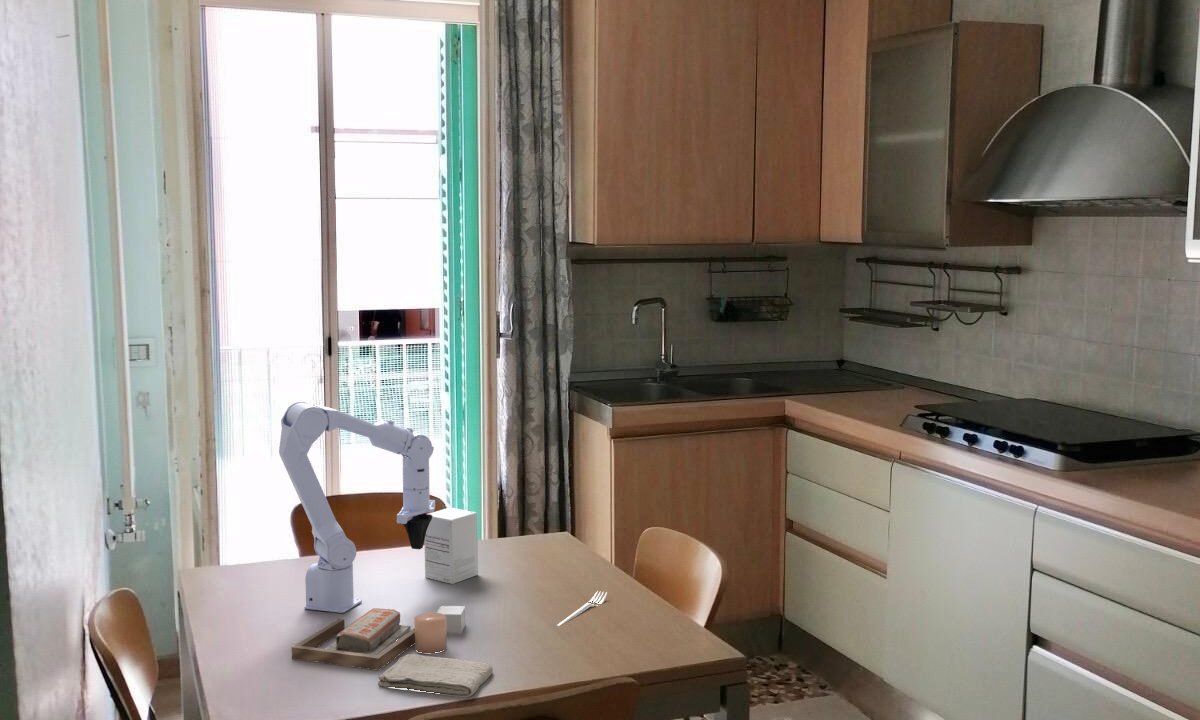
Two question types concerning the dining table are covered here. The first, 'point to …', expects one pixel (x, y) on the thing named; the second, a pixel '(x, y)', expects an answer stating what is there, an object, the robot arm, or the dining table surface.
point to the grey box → (454, 618)
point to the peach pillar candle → (430, 632)
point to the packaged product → (371, 632)
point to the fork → (585, 607)
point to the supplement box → (451, 546)
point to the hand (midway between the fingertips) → (417, 548)
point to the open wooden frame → (311, 653)
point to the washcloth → (436, 675)
